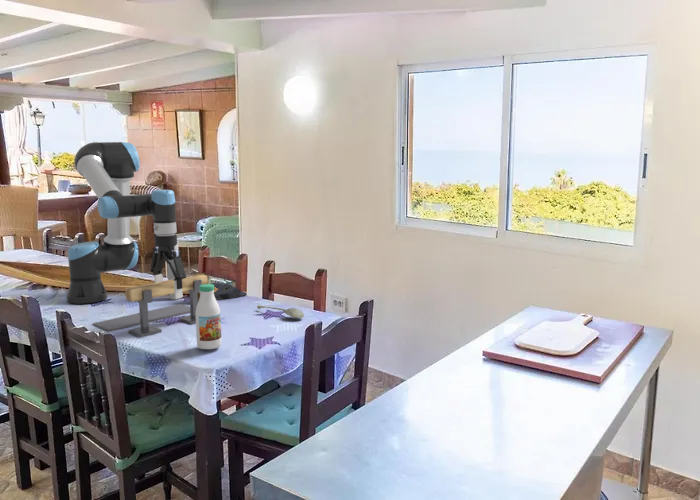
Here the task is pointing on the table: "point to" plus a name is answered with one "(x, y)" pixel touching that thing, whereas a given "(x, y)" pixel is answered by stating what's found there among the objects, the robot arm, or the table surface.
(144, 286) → the hang bar
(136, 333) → the standards
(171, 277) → the tube
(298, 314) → the soupspoon
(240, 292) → the dark slate chunk
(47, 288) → the table surface
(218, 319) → the milk bottle
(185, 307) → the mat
